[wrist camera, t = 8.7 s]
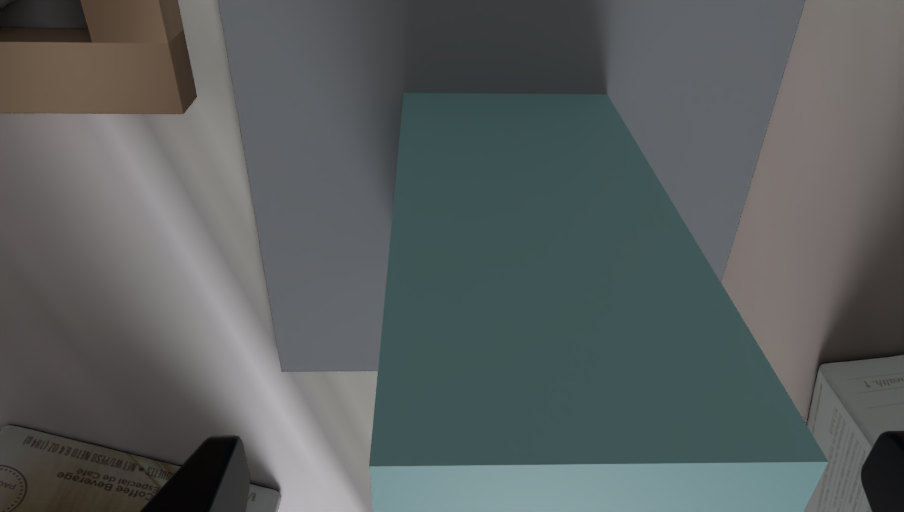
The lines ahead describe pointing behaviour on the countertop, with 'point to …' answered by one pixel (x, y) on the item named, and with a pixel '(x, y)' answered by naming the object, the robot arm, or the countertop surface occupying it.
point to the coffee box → (85, 476)
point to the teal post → (563, 330)
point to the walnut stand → (100, 62)
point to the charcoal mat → (473, 71)
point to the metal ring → (4, 3)
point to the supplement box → (852, 425)
